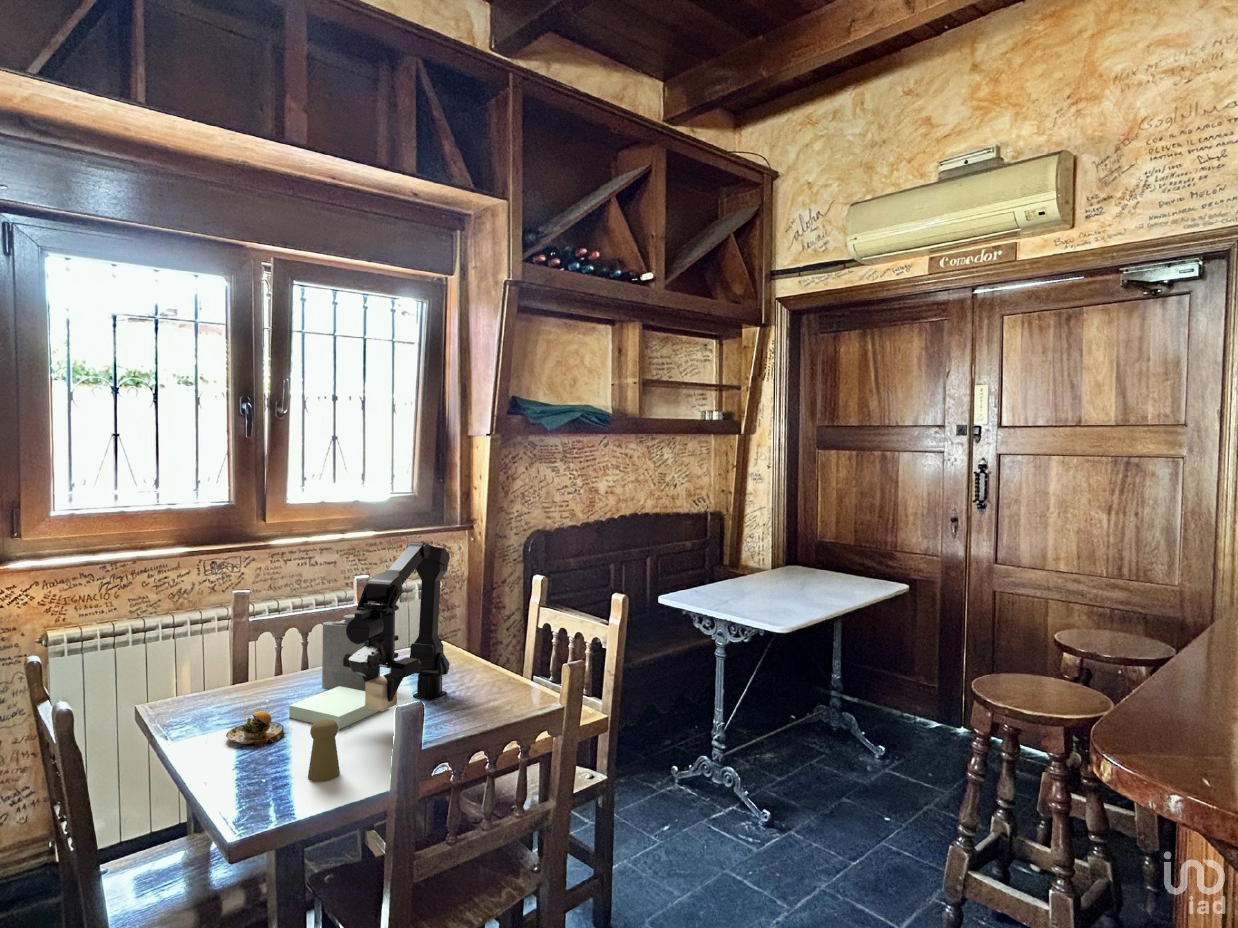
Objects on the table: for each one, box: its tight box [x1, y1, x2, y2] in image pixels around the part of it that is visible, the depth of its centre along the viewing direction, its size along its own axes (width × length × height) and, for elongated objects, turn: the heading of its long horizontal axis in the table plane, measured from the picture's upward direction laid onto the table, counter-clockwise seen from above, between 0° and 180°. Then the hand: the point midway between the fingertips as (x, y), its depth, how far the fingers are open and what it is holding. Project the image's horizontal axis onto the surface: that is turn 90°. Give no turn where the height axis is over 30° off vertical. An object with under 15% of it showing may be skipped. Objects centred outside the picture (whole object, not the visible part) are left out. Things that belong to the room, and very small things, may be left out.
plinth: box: [288, 686, 379, 730], centre depth 183 cm, size 16×16×3 cm
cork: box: [307, 719, 341, 783], centre depth 149 cm, size 6×6×11 cm
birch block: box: [365, 675, 398, 712], centre depth 172 cm, size 5×5×6 cm
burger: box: [225, 705, 285, 748], centre depth 167 cm, size 12×12×8 cm
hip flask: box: [321, 614, 381, 691], centre depth 201 cm, size 16×4×20 cm, turn 86°
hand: (381, 699), depth 172 cm, fingers closed on birch block, 5 cm apart
